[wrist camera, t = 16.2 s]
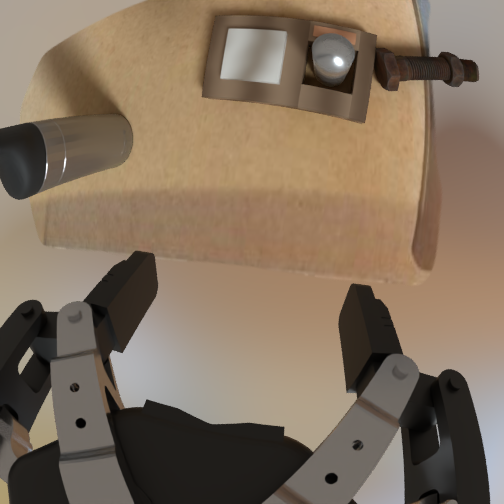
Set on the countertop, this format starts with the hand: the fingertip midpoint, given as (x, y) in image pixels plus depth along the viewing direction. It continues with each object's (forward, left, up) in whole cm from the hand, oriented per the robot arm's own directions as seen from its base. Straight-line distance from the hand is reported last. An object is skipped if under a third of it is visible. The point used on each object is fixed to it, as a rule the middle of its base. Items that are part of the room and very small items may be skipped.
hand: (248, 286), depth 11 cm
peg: (+2, +15, -27) cm, 31 cm away
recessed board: (-3, +15, -27) cm, 31 cm away
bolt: (+14, +19, -28) cm, 37 cm away
